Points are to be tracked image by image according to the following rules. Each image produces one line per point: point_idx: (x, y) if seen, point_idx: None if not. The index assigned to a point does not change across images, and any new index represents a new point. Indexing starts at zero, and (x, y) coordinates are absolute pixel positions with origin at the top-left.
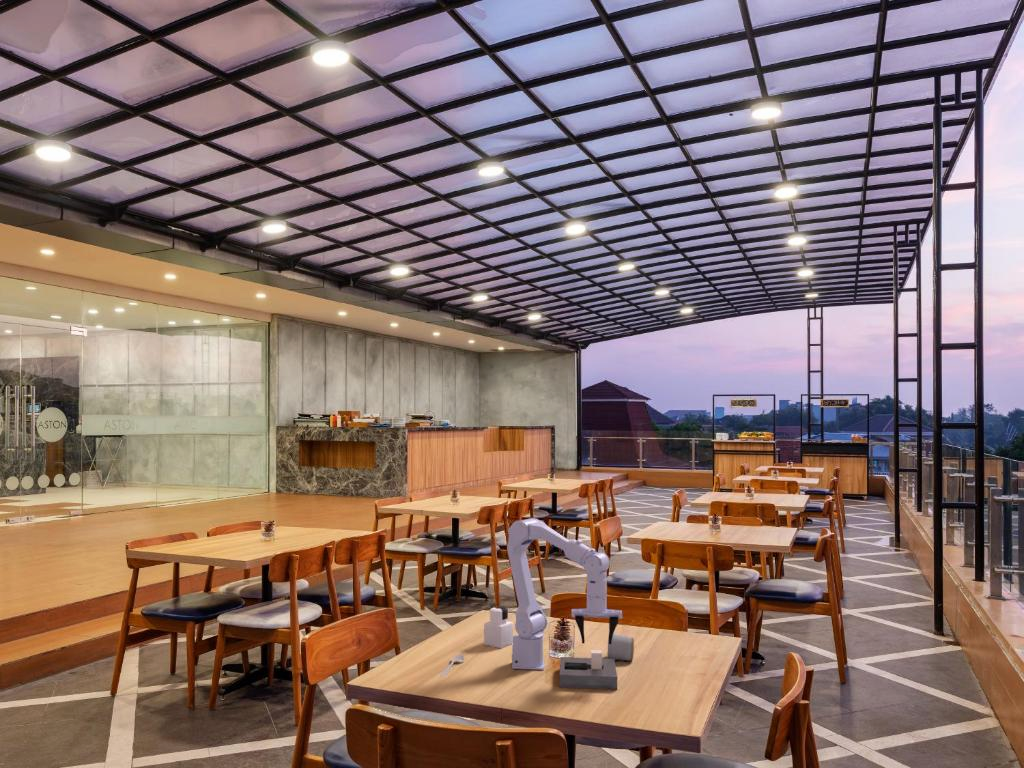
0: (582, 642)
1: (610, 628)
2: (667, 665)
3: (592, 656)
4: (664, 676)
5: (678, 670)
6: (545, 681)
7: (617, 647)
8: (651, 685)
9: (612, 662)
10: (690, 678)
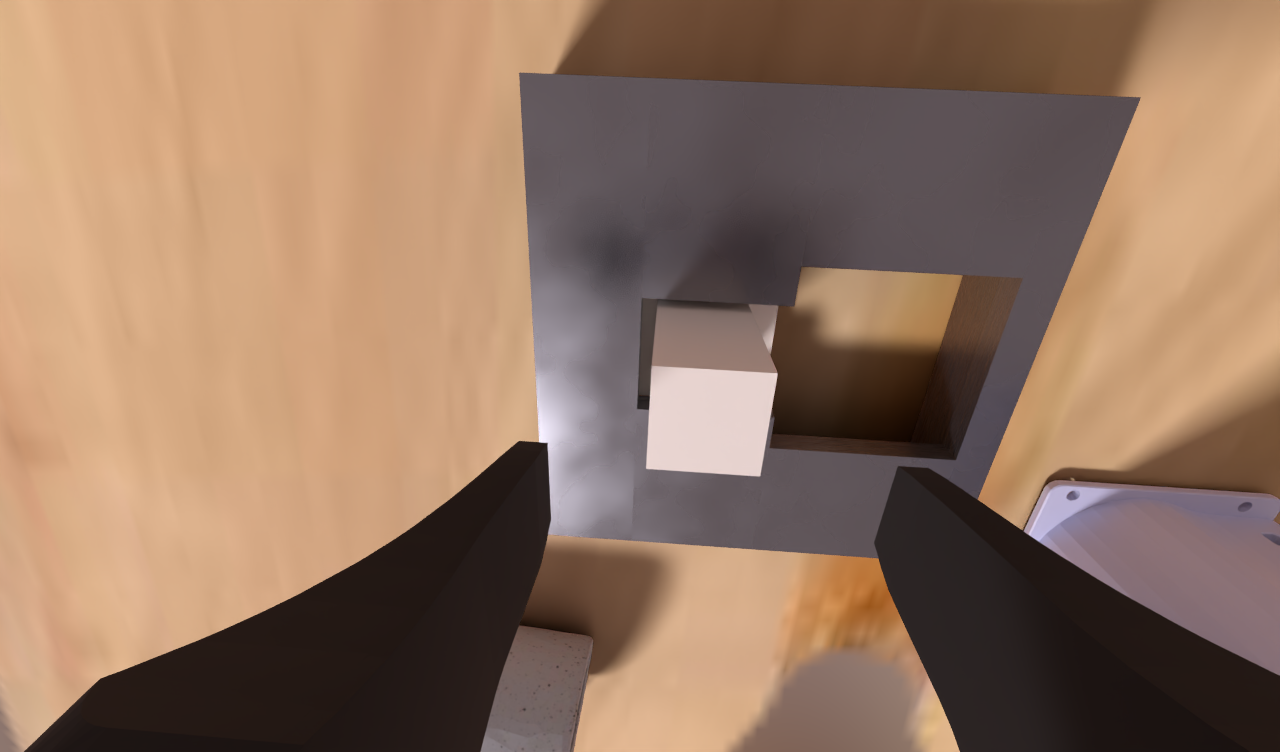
0: (933, 471)
1: (418, 598)
2: (256, 564)
3: (759, 357)
4: (236, 397)
5: (177, 495)
6: (1117, 258)
7: (514, 683)
8: (290, 213)
9: (558, 465)
10: (68, 368)
